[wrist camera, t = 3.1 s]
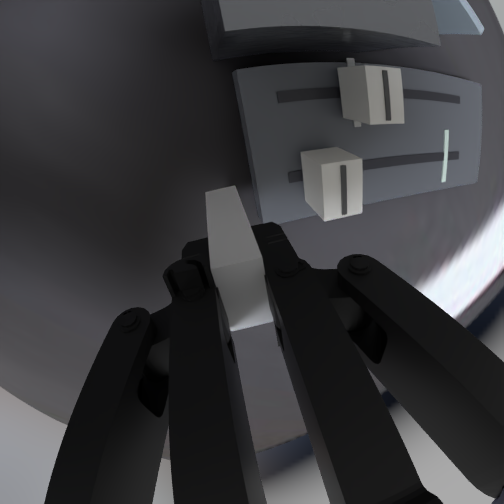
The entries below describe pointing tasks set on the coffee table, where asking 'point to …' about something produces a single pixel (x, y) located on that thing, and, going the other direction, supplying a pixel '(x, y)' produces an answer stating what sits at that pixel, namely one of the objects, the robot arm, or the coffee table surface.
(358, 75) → the fader
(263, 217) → the console
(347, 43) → the cabinet
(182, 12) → the coffee table surface
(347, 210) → the fader
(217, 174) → the coffee table surface
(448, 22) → the door
